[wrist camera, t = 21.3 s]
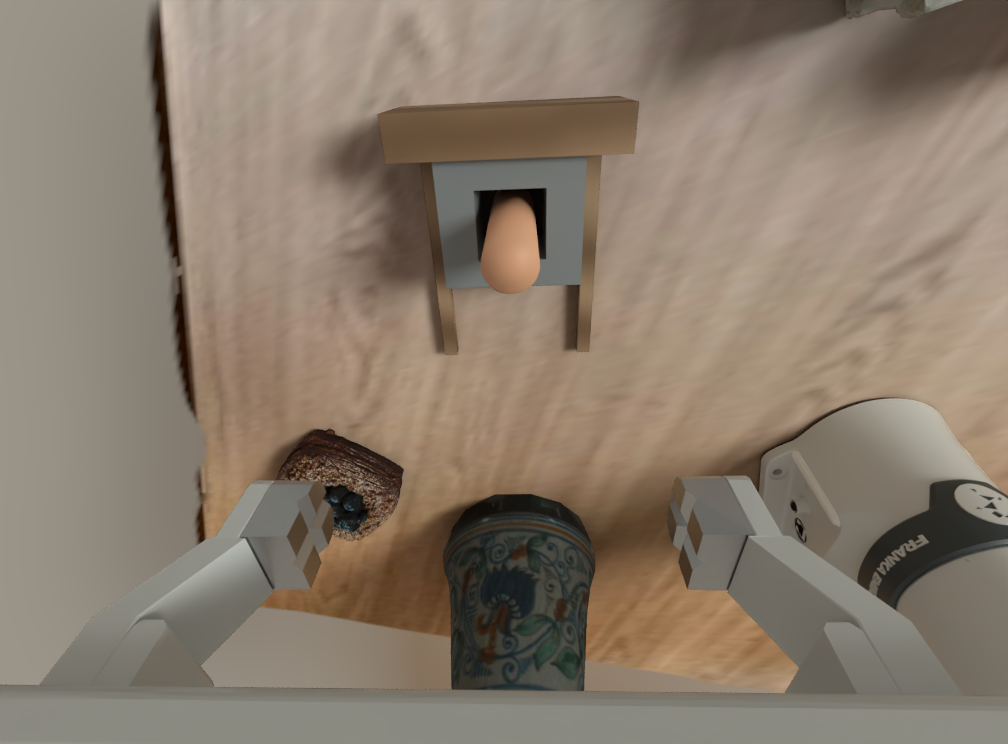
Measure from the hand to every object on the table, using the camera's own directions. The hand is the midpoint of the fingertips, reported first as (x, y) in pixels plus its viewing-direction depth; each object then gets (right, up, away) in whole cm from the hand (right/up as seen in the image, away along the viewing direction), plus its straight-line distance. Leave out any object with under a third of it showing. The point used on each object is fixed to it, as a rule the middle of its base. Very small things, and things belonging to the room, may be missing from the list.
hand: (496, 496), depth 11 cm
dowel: (+1, +15, +23) cm, 27 cm away
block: (+1, +15, +23) cm, 27 cm away
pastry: (-17, -8, +39) cm, 43 cm away
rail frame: (+1, +13, +24) cm, 27 cm away
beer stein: (+2, -18, +44) cm, 47 cm away
